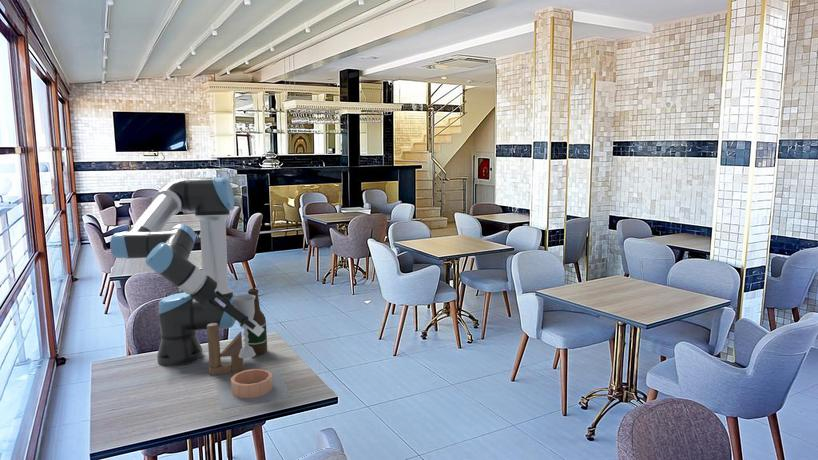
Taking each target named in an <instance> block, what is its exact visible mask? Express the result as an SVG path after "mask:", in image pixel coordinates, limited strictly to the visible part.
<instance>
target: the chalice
mask: <svg viewBox="0 0 818 460" xmlns="http://www.w3.org/2000/svg"><path fill="white" fill-rule="evenodd" d="M255 297H256V296H254V295H251V294H249V293H245V294H237V295H235V296H234V297H233V298H232V300H233V302H234V307H235V308H236V309H237V310H239V311H240V312H241V313H243V314H244V315H245V316H247V317H249V318H250V319H252V320H253V317H254V313H255V307H254V299H255ZM237 323H238V324H239V325H240V324H241V323H240V322H238V321H237ZM241 328H243V330H244V331H243V336H244V338H243V339H242V342H244V346H242V349H241V351H240V354H239V357H240V358H243V359H251V358H253V357H256V356H255V355H256V354H255V352H254V350H253V348H252V347H250V346H249V345H248V341H249V339H248V334H249V333H248V331H247V328H246V327H245V326H242V327H241Z"/></svg>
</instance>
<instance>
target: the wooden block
mask: <svg viewBox="0 0 818 460" xmlns="http://www.w3.org/2000/svg"><path fill="white" fill-rule="evenodd" d="M206 332H207V333H206V334H207V345H208V360H209V362H208V363H209V367H208V375H209V376H215V375H221V374H222V375H223V374H231V373H232V374H233V373H239V372H242V371H244V367H245V366H244V358H240V357H239V354H240V351H241V349H242V348H243V338H242V331H240V332H239V333H238V334H237V335H236V336H235V337H234V338H233V339H232V341H230V343H228V345H227V346H226V347H225V348H224V349H223V350H222V351H221V343H220V330H219V327H218V324H217V323H210V324H208V325H207V329H206ZM225 357H230V361H231V364H230V363H227V362H226V363H222V359H221V358H225Z"/></svg>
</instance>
